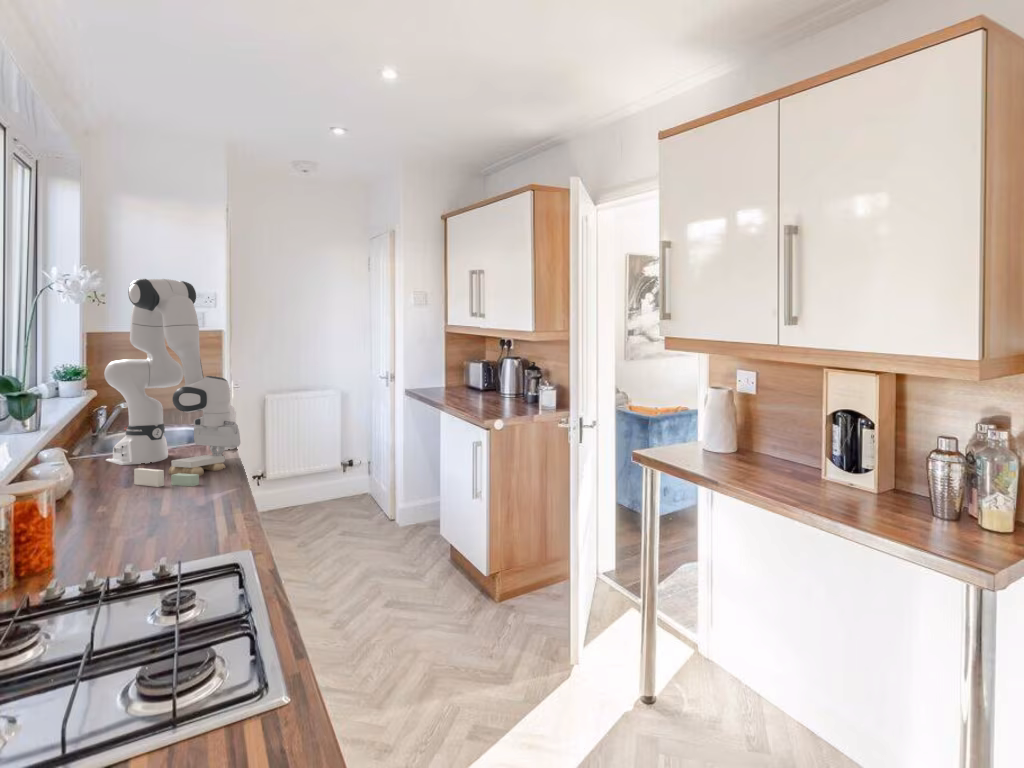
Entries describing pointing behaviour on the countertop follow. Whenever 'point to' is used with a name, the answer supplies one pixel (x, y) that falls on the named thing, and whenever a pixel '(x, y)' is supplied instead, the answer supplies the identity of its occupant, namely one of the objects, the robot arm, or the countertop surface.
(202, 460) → the stone slab
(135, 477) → the block
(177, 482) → the block
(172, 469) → the rail
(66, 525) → the countertop surface
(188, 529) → the countertop surface
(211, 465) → the rail
